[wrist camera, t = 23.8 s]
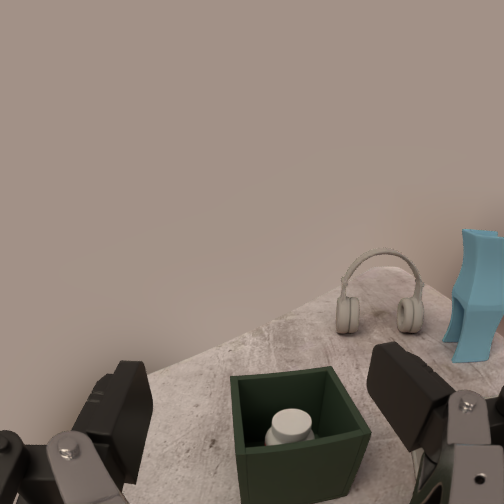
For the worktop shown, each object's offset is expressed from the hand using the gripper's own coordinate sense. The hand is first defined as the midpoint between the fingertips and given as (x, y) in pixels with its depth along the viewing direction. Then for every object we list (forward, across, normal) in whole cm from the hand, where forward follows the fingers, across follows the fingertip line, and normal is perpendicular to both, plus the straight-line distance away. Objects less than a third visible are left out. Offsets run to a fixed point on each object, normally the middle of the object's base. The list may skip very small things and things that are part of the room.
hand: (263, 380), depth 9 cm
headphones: (+45, -33, +25) cm, 61 cm away
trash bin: (+13, -5, +25) cm, 29 cm away
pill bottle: (+13, -5, +25) cm, 28 cm away
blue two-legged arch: (+29, -48, +25) cm, 61 cm away
